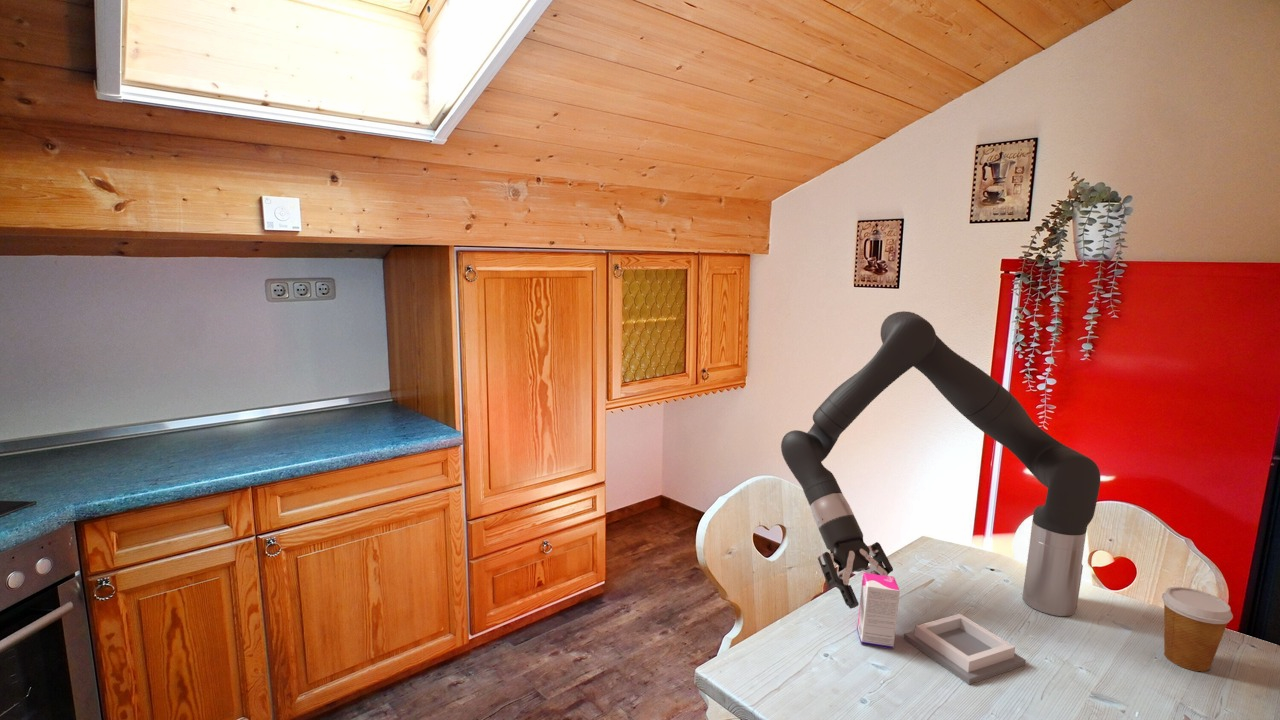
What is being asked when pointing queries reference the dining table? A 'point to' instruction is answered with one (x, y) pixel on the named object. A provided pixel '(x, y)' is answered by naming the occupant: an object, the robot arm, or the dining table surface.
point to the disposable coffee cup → (1193, 627)
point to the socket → (965, 648)
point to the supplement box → (878, 610)
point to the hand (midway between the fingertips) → (872, 602)
